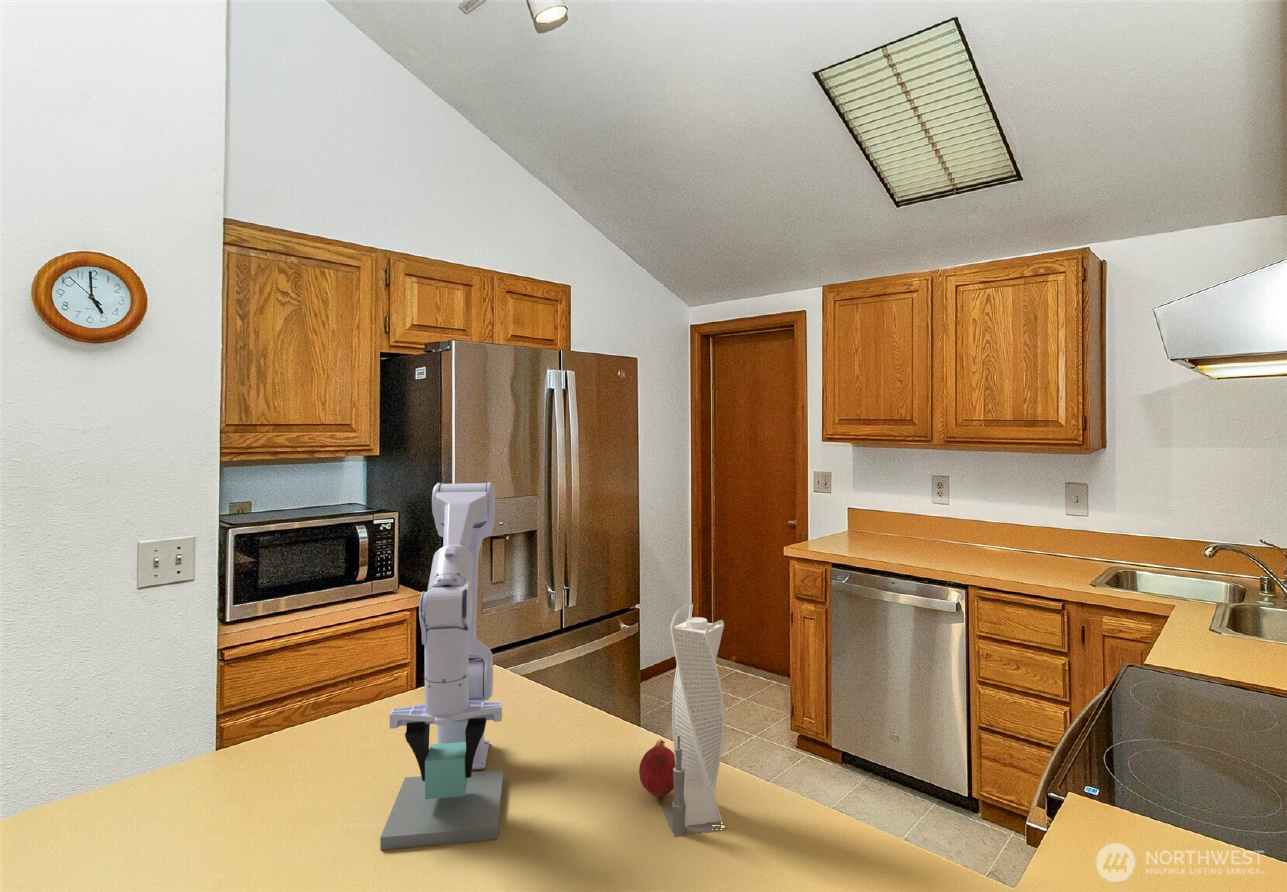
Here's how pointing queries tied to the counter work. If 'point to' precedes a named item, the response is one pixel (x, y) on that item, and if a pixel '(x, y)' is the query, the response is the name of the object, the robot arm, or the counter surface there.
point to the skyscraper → (696, 726)
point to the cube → (445, 770)
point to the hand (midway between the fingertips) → (447, 775)
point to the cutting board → (445, 813)
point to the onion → (658, 770)
